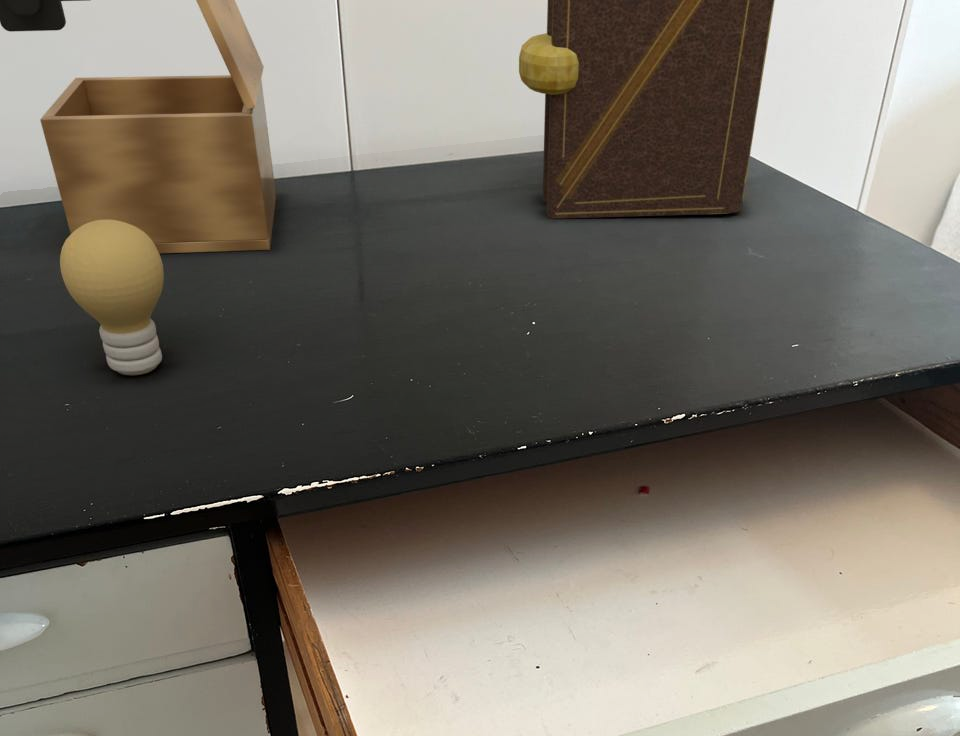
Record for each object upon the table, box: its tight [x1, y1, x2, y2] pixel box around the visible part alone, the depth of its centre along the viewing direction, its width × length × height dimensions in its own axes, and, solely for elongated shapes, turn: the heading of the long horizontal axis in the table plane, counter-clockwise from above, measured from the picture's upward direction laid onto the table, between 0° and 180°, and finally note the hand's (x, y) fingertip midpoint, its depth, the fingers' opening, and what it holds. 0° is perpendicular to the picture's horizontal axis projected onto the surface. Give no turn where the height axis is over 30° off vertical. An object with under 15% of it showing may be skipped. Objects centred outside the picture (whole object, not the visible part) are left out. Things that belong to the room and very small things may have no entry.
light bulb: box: [59, 220, 165, 376], centre depth 65 cm, size 6×6×10 cm
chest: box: [40, 74, 277, 254], centre depth 87 cm, size 17×15×11 cm
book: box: [518, 0, 776, 220], centre depth 87 cm, size 22×8×25 cm, turn 92°
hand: (55, 13), depth 54 cm, fingers open, 9 cm apart
